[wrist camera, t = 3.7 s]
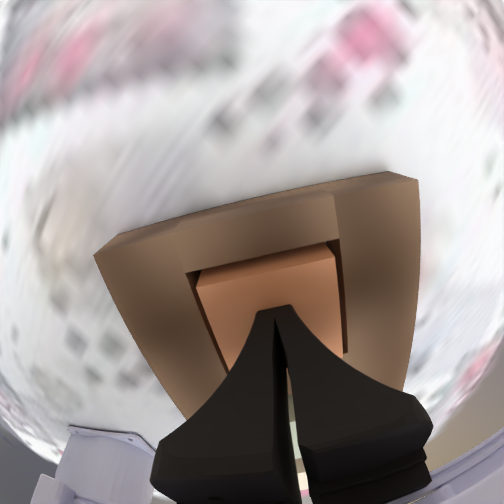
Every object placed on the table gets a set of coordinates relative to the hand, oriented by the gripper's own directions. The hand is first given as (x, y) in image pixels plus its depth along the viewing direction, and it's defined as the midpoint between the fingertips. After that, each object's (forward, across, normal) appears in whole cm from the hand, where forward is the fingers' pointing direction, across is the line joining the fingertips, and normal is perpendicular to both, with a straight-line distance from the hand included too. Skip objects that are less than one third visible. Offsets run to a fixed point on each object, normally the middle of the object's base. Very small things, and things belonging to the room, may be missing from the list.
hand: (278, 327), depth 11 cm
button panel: (+3, 0, +8) cm, 9 cm away
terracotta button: (+2, 0, 0) cm, 2 cm away
